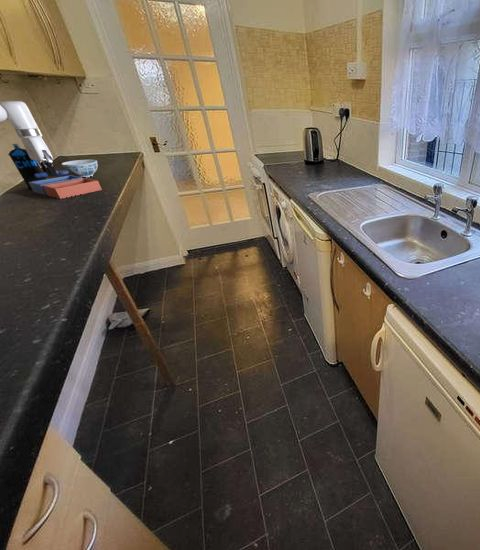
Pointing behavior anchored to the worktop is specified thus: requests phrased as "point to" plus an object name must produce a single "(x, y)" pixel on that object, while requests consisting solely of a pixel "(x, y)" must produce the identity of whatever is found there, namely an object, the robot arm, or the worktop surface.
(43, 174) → the blue spoon
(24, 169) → the aerosol can
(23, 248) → the worktop surface
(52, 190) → the red bin
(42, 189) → the blue bin
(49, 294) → the worktop surface
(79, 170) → the chinaware
